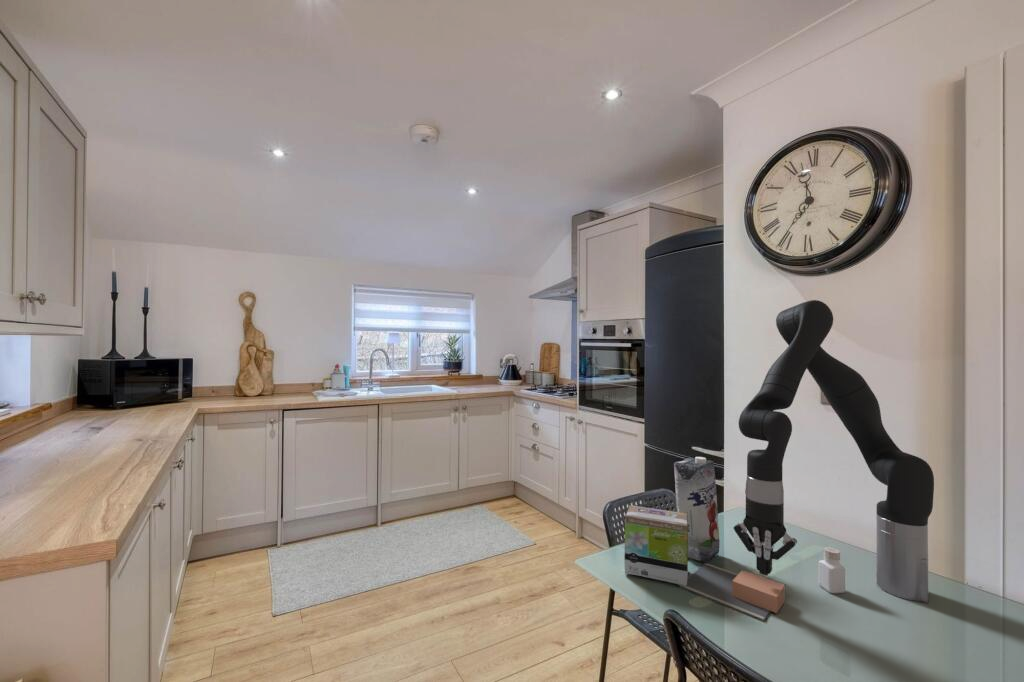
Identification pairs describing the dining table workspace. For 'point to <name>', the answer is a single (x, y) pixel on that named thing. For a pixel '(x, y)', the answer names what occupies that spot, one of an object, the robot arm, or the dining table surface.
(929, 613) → the dining table surface
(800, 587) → the dining table surface
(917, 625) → the dining table surface
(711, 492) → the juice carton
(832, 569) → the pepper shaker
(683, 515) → the tea box
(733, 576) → the tray
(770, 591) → the brick
